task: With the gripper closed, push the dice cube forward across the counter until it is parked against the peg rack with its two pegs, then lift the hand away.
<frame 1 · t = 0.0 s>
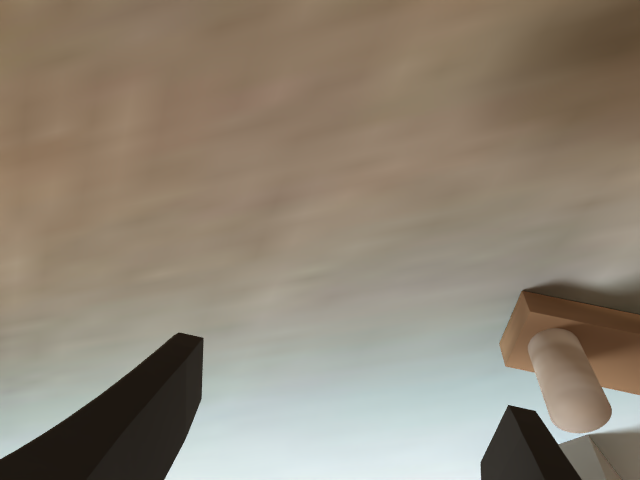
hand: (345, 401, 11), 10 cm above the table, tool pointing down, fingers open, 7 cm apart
dice cube: (561, 474, 26), on the table
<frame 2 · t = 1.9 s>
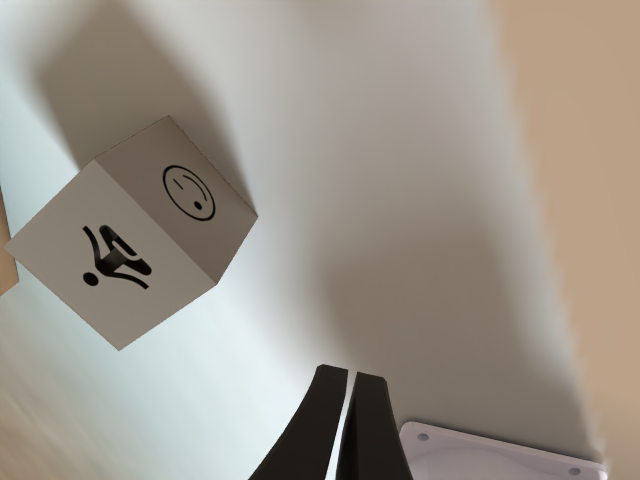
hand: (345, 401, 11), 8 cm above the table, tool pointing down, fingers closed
dice cube: (175, 200, 20), on the table
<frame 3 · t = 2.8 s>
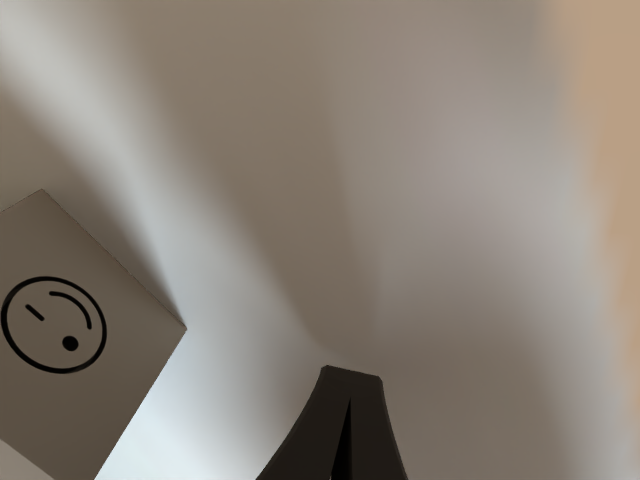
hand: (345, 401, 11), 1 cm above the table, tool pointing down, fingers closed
dice cube: (70, 300, 14), on the table
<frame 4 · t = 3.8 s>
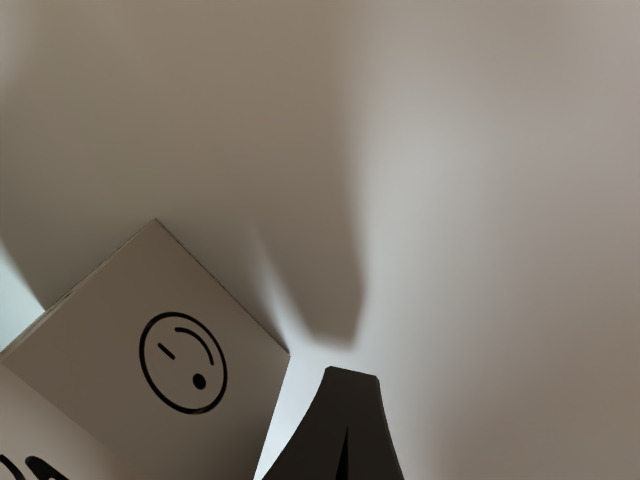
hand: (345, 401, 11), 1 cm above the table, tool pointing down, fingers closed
dice cube: (167, 329, 13), on the table, touching gripper
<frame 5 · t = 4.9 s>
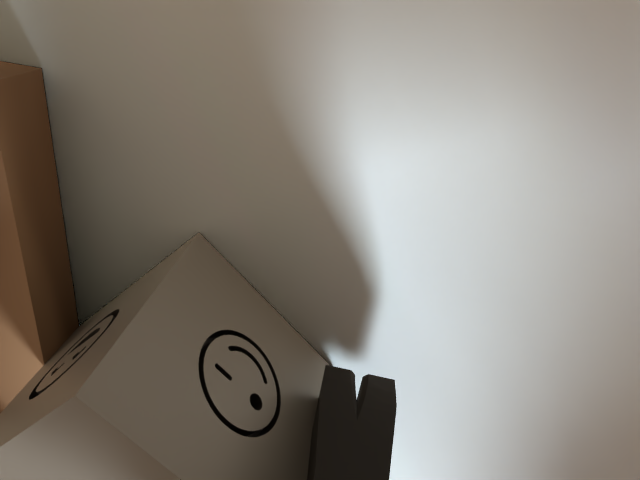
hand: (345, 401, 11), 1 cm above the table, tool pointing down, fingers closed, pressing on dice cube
peg rack: (21, 292, 13), on the table
dice cube: (205, 342, 13), on the table, touching gripper, peg rack
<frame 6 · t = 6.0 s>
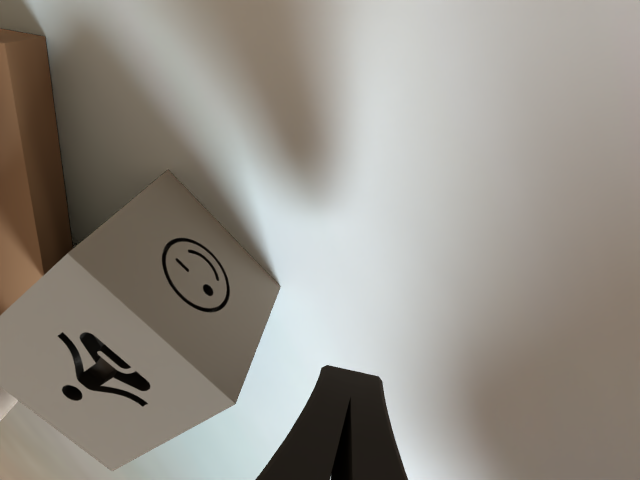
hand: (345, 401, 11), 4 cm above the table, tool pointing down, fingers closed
peg rack: (27, 223, 16), on the table
dice cube: (179, 265, 16), on the table
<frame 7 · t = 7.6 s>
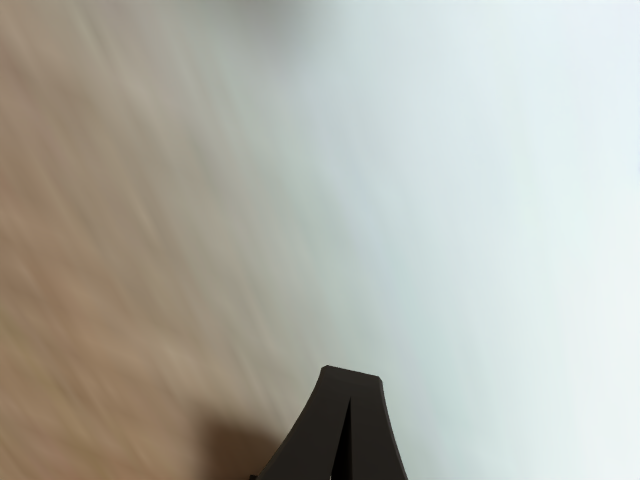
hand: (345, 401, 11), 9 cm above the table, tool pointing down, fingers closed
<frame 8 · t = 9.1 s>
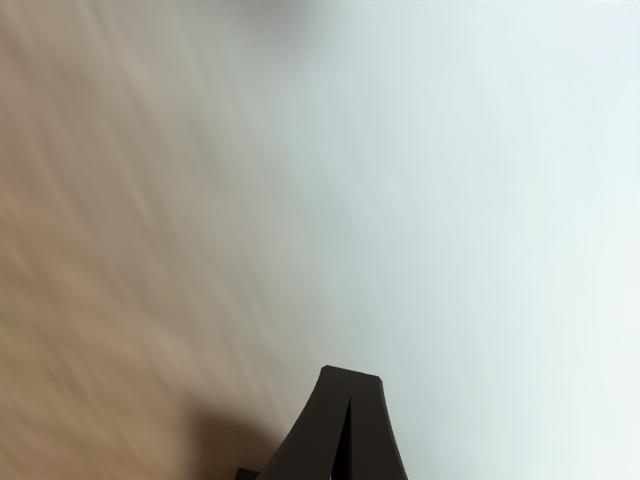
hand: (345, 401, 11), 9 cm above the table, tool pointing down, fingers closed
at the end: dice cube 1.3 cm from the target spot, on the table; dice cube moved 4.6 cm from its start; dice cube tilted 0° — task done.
